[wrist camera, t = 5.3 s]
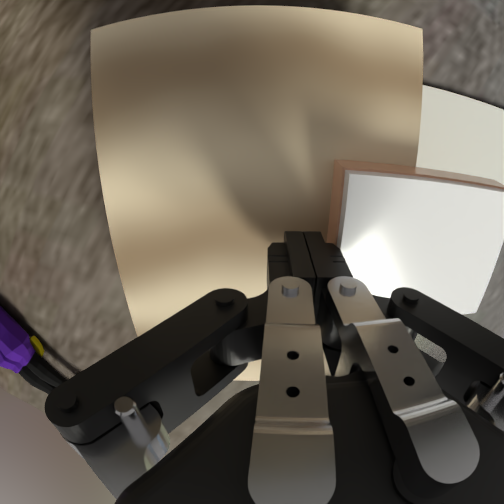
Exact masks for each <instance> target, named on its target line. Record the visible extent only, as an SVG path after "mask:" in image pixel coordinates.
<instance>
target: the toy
mask: <svg viewBox="0 0 504 504" xmlns="http://www.w3.org/2000/svg"><path fill="white" fill-rule="evenodd" d="M43 354H44V349H43V346H42V344H41V343H40V341H39V340H38V339H37V338H36V337H35V336H32V337H30V338H29V334H28V333H27V332H26V331H25V330H24V329H23V328H22V327H21V326H20V325H19V324H18V323H17V322H16V321H15V320H14V319H13V318H12V317H11V316H10V315H9V314H8V313H7V312H6V311H5V310H4V309H3V308H2V307H1V306H0V366H1V367H4V368H7V369H11V370H13V371H14V372H15V373H19V374H20V375H21V376H22V377H23V378H24V379H25V380H26V381H27V382H29V383H30V384H31V385H32V386H34V387H36V388H38V389H40V390H42V391H44V392H46V393H47V394H50V392H51V391H52V390H53V389H54V388H56V387H57V386H59V385H60V384H62V383H64V382H65V381H67V380H65V379H64V378H63V377H62V376H61V375H60V374H59V373H58V372H57V371H56V370H54V369H53V368H52V367H51V366H50V365H49V364H48V363H47V362H46V361H45V360H44V359H43V358H42V356H43Z"/></svg>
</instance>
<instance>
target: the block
mask: <svg viewBox="0 0 504 504" xmlns="http://www.w3.org/2000/svg"><path fill="white" fill-rule="evenodd" d="M91 88H92V106H93V119H94V130H95V140H96V149H97V157H98V165H99V172H100V179H101V185H102V191H103V197H104V203H105V209H106V214H107V219H108V224H109V229H110V234H111V239H112V243H113V248H114V252H115V257H116V261H117V265H118V269H119V273H120V277H121V281H122V285H123V289H124V292H125V296H126V299H127V303H128V307H129V310H130V313H131V317H132V320H133V323H134V327H135V330H136V333H137V336H138V337H139V336H140V335H142V334H143V333H145V332H147V331H148V330H150V329H152V328H153V327H155V326H156V325H158V324H160V323H161V322H163V321H164V320H166V319H168V318H169V317H171V316H172V315H174V314H176V313H177V312H179V311H180V310H182V309H184V308H185V307H187V306H188V305H190V304H192V303H193V302H195V301H196V300H198V299H200V298H201V297H203V296H204V295H206V294H207V293H209V292H211V291H213V290H216V289H221V288H231V289H236V290H238V291H241V292H242V293H244V294H245V296H246V297H247V298H252V297H256V296H259V295H261V294H263V293H264V292H265V291H266V290H267V248H268V247H269V246H270V245H271V243H272V242H284V232H285V231H302V232H303V231H320V232H321V234H322V236H323V239H324V241H325V243H326V242H327V233H328V224H329V215H330V204H331V194H332V182H333V170H334V159H338V160H352V161H365V162H376V163H386V164H396V165H404V166H413V167H416V162H417V153H418V145H419V135H420V123H421V109H422V89H423V34H422V29H420V28H417V27H413V26H410V25H406V24H402V23H398V22H394V21H390V20H386V19H381V18H376V17H371V16H366V15H361V14H355V13H349V12H342V11H335V10H327V9H318V8H307V7H293V6H265V5H251V6H223V7H209V8H198V9H189V10H181V11H174V12H167V13H161V14H155V15H149V16H144V17H139V18H135V19H130V20H126V21H121V22H117V23H113V24H109V25H106V26H102V27H98V28H95V29H92V30H91ZM261 360H262V359H260V360H256V361H252V362H248V366H247V368H246V369H245V370H244V371H243V372H242V373H241V374H240V375H238V376H237V377H236V378H235V379H234V380H245V381H259V380H260V370H261Z"/></svg>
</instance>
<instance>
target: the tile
mask: <svg viewBox="0 0 504 504" xmlns="http://www.w3.org/2000/svg"><path fill="white" fill-rule="evenodd" d="M503 240H504V185H503V184H501V183H499V182H497V181H495V180H493V179H488V178H483V177H478V176H472V175H467V174H461V173H455V172H448V171H442V170H435V169H428V168H421V167H413V166H404V165H396V164H386V163H376V162H365V161H352V160H338V159H334V170H333V182H332V194H331V204H330V215H329V224H328V233H327V242H326V243H333V244H334V245H336V246H337V247H338V248H340V250H341V252H342V254H343V257H344V258H345V260H346V263H347V265H348V267H349V269H350V271H351V273H352V275H353V278H356V279H358V280H360V281H362V282H363V283H364V284H365V285H366V286H367V288H368V289H369V291H370V293H371V294H372V295H376V296H381V297H386V298H390V297H391V293H392V291H393V290H395V289H397V288H400V287H408V288H412V289H415V290H418V291H420V292H421V293H423V294H425V295H427V296H429V297H431V298H432V299H434V300H436V301H438V302H440V303H442V304H443V305H445V306H447V307H449V308H451V309H452V310H454V311H456V312H458V313H460V314H470V313H476V311H477V309H478V307H479V305H480V302H481V300H482V298H483V295H484V293H485V290H486V288H487V286H488V283H489V280H490V278H491V275H492V273H493V270H494V267H495V264H496V262H497V259H498V256H499V253H500V250H501V247H502V244H503Z"/></svg>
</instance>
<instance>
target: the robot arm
mask: <svg viewBox="0 0 504 504" xmlns="http://www.w3.org/2000/svg"><path fill="white" fill-rule="evenodd" d="M417 333H418V334H420V335H422V336H423V337H425V338H427V339H428V340H430V341H432V342H433V343H435V344H437V345H438V346H440V347H442V348H443V349H444V350H445V352H446V354H447V359H446V361H445V362H439V361H437V360H436V359H434V358H433V357H431V356H429V355H428V354H426V353H425V352H423V351H421V350H420V349H418V347H417V346H416V344H415V342H414V340H415V338H416V336H417ZM260 359H262V360H261V370H260V380H259V384H257V385H254V386H251V387H249V388H247V389H244V390H242V391H241V392H239V393H237V394H236V395H234V396H233V397H231V398H230V399H229V400H228V401H226V402H225V403H224V404H223V405H222V406H221V407H220V408H219V409H218V410H217V411H216V412H215V413H214V414H212V415H211V416H210V417H209V418H208V419H207V420H206V421H205V422H204V423H203V424H202V425H201V426H199V427H198V428H197V429H196V430H195V431H194V432H193V433H192V434H190V435H189V436H188V437H187V438H186V439H185V440H184V441H183V442H181V443H180V444H179V445H178V446H177V447H176V448H174V449H173V450H172V451H171V452H170V453H169V454H167V455H166V456H165V457H164V458H163V459H161V458H162V457H163V456H164V455H165V454H166V452H167V451H168V449H169V445H170V438H169V435H168V434H169V433H170V432H171V431H172V430H174V429H175V428H176V427H177V426H179V425H180V424H181V423H183V422H184V421H185V420H186V419H188V418H189V417H190V416H191V415H192V414H194V413H195V412H196V411H197V410H199V409H200V408H201V407H202V406H203V405H205V404H206V403H207V402H208V401H209V400H211V399H212V398H213V397H214V396H215V395H217V394H218V393H219V392H220V391H221V390H222V389H224V388H225V387H226V386H227V385H228V384H229V383H230V382H232V381H233V380H234V379H235V378H236V377H237V376H238V375H240V374H241V373H242V372H243V371H244V370H245V369H246V368H247V366H248V362H252V361H256V360H260ZM45 413H46V415H47V417H48V419H49V420H50V421H51V422H52V424H53V425H54V426H55V427H56V428H57V429H58V431H59V432H60V434H61V435H62V437H63V438H64V439H65V440H66V441H67V442H68V443H69V445H70V446H71V447H72V448H73V449H74V450H75V451H76V452H77V453H78V454H79V455H80V456H81V457H82V458H84V459H85V460H86V462H87V463H88V465H89V466H90V467H91V468H92V470H93V471H94V472H95V474H96V475H97V476H98V478H99V479H100V480H101V481H102V483H103V484H104V485H105V486H106V488H107V489H108V490H109V491H110V492H111V493H112V495H113V496H114V497H115V498H116V499H117V500H116V502H115V504H504V339H503V338H501V337H500V336H498V335H496V334H495V333H493V332H491V331H489V330H488V329H486V328H484V327H483V326H481V325H479V324H477V323H476V322H474V321H472V320H470V319H469V318H467V317H465V316H463V315H461V314H460V313H458V312H456V311H454V310H452V309H451V308H449V307H447V306H445V305H443V304H442V303H440V302H438V301H436V300H434V299H432V298H431V297H429V296H427V295H425V294H423V293H421V292H420V291H418V290H415V289H412V288H408V287H400V288H397V289H395V290H393V291H392V293H391V297H390V298H386V297H381V296H376V295H372V294H371V293H370V291H369V289H368V288H367V286H366V285H365V284H364V283H363V282H362V281H360V280H358V279H356V278H353V275H352V273H351V271H350V269H349V267H348V265H347V263H346V260H345V258H344V257H343V254H342V252H341V250H340V248H338V247H337V246H336V245H334V244H333V243H325V241H324V239H323V236H322V234H321V232H320V231H303V232H302V231H285V232H284V242H272V243H271V245H270V246H269V247H268V248H267V290H266V291H265V292H264V293H263V294H261V295H259V296H256V297H252V298H247V297H246V296H245V294H244V293H242V292H241V291H238V290H236V289H231V288H221V289H216V290H213V291H211V292H209V293H207V294H206V295H204V296H203V297H201V298H200V299H198V300H196V301H195V302H193V303H192V304H190V305H188V306H187V307H185V308H184V309H182V310H180V311H179V312H177V313H176V314H174V315H172V316H171V317H169V318H168V319H166V320H164V321H163V322H161V323H160V324H158V325H156V326H155V327H153V328H152V329H150V330H148V331H147V332H145V333H143V334H142V335H140V336H139V337H137V338H135V339H134V340H132V341H131V342H129V343H127V344H126V345H124V346H122V347H121V348H119V349H118V350H116V351H114V352H113V353H111V354H109V355H108V356H106V357H105V358H103V359H101V360H100V361H98V362H96V363H95V364H93V365H92V366H90V367H88V368H87V369H85V370H83V371H82V372H80V373H78V374H77V375H75V376H73V377H72V378H70V379H69V380H67V381H65V382H64V383H62V384H60V385H59V386H57V387H56V388H54V389H53V390H52V391H51V392H50V394H49V395H48V397H47V399H46V402H45ZM160 459H161V460H160ZM159 460H160V461H159Z"/></svg>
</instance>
